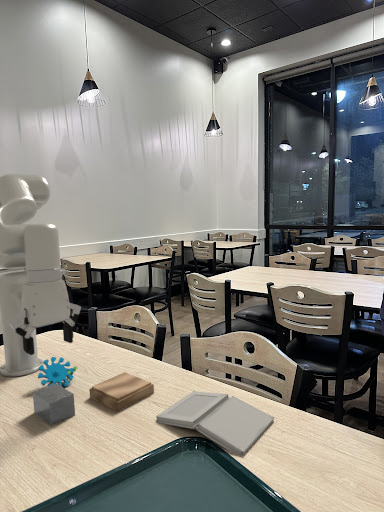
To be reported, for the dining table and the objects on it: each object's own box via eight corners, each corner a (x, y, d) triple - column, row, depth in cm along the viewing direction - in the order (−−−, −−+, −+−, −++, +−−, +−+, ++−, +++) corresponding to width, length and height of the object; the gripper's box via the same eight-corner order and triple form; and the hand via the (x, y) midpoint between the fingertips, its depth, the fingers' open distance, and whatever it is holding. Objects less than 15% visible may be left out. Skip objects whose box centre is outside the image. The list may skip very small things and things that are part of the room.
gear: (41, 391, 95) (36, 357, 100) (36, 400, 98) (31, 368, 104) (81, 384, 102) (74, 353, 107) (75, 393, 105) (68, 362, 111)
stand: (89, 397, 94) (89, 386, 93) (125, 381, 103) (124, 371, 102) (118, 411, 86) (117, 400, 86) (154, 392, 95) (153, 382, 95)
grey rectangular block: (34, 413, 87) (32, 392, 86) (57, 403, 91) (56, 383, 91) (51, 426, 81) (49, 403, 80) (75, 415, 85) (73, 393, 85)
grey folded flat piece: (274, 423, 80) (274, 407, 80) (243, 460, 68) (242, 441, 68) (193, 396, 94) (193, 383, 93) (155, 423, 82) (154, 408, 81)
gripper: (69, 271, 92) (73, 335, 93) (-2, 280, 79) (5, 355, 80) (85, 272, 87) (90, 340, 88) (13, 283, 74) (20, 362, 75)
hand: (50, 347), depth 84 cm, fingers open, 9 cm apart
